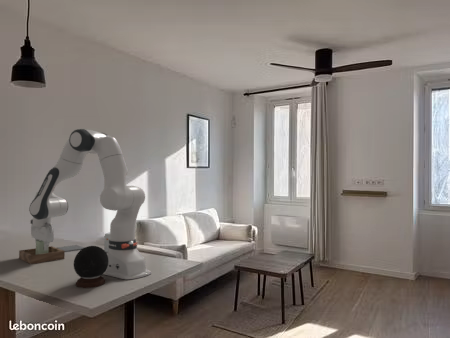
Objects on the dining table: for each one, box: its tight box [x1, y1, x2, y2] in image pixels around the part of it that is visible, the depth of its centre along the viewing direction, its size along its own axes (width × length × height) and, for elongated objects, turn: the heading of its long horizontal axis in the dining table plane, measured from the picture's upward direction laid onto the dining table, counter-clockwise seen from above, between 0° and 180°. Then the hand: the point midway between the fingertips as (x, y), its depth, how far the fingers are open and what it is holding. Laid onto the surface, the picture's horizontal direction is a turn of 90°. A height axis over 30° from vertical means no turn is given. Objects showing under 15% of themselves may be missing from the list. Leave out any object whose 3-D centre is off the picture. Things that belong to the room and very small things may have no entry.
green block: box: [35, 240, 50, 255], centre depth 175 cm, size 4×4×9 cm
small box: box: [103, 231, 110, 253], centre depth 195 cm, size 8×6×10 cm
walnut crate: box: [18, 245, 66, 265], centre depth 175 cm, size 16×16×4 cm
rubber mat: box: [56, 244, 85, 253], centre depth 199 cm, size 12×12×1 cm
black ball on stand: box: [73, 245, 109, 289], centre depth 137 cm, size 13×13×15 cm
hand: (41, 248), depth 175 cm, fingers open, 8 cm apart
